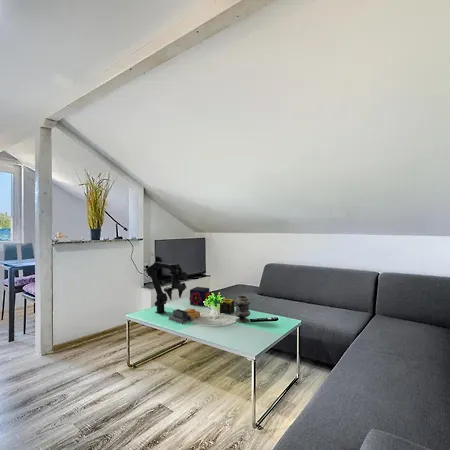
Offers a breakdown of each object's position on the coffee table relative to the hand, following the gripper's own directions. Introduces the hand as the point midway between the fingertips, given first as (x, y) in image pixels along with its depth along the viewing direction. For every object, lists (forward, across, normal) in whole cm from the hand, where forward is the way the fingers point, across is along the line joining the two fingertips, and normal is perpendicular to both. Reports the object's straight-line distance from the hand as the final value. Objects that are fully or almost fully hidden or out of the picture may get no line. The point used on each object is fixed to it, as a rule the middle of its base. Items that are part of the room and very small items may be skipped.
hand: (175, 298), depth 242 cm
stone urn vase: (+13, +24, -50) cm, 57 cm away
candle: (+13, +32, -27) cm, 44 cm away
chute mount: (+13, -6, -13) cm, 19 cm away
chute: (+12, -6, -13) cm, 19 cm away
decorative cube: (+13, +36, +10) cm, 40 cm away
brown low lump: (+13, +4, -13) cm, 19 cm away
